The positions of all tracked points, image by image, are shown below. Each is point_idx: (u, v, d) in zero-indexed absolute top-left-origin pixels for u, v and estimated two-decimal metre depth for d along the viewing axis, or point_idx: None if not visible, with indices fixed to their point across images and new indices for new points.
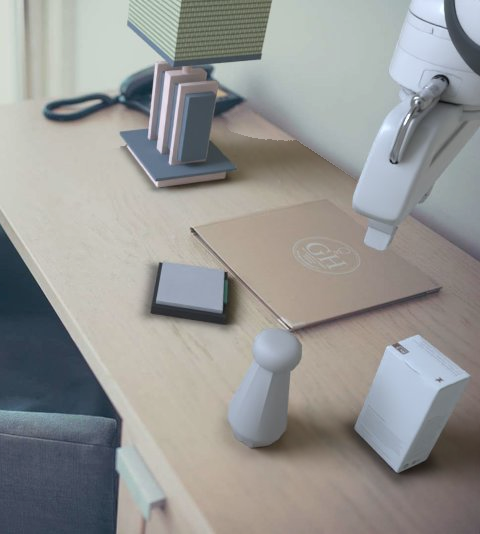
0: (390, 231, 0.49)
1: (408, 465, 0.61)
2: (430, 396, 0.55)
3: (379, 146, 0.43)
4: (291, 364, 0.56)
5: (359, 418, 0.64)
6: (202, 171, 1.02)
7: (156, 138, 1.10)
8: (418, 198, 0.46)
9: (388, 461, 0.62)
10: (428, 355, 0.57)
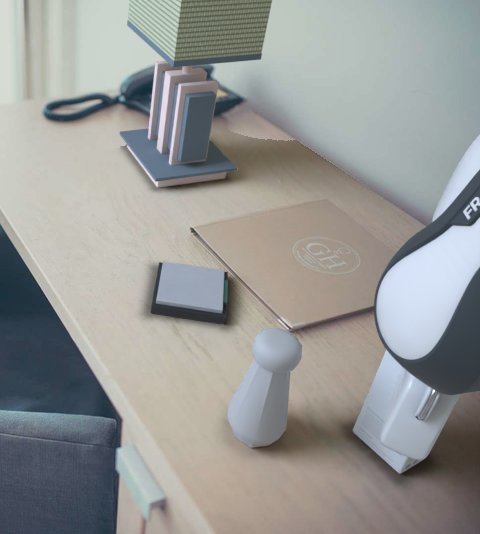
0: None
1: (410, 465, 0.61)
2: None
3: (406, 404, 0.49)
4: (291, 364, 0.56)
5: (358, 420, 0.64)
6: (202, 171, 1.02)
7: (156, 138, 1.10)
8: None
9: (389, 462, 0.62)
10: None
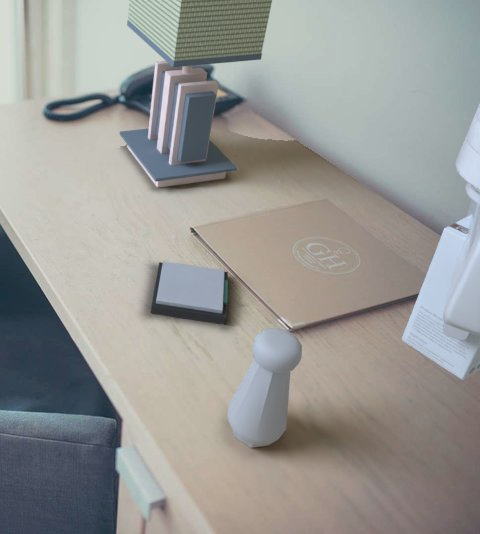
0: None
1: (474, 369, 0.53)
2: None
3: (479, 264, 0.41)
4: (291, 364, 0.56)
5: (408, 325, 0.55)
6: (202, 171, 1.02)
7: (156, 138, 1.10)
8: None
9: (450, 368, 0.53)
10: None
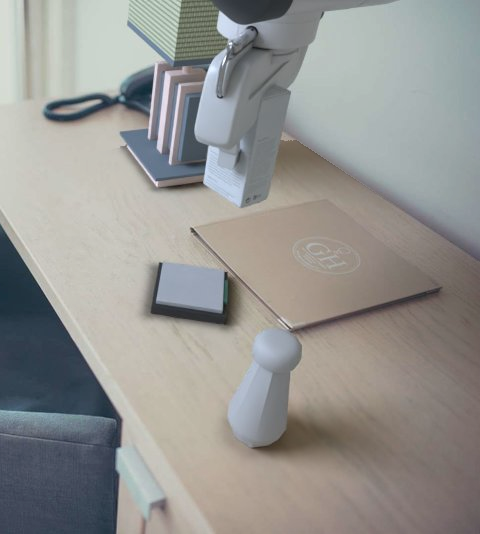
0: (234, 152, 0.61)
1: (249, 199, 0.66)
2: None
3: (208, 85, 0.54)
4: (291, 364, 0.56)
5: (206, 169, 0.68)
6: (202, 171, 1.02)
7: (156, 138, 1.10)
8: (245, 127, 0.57)
9: (232, 200, 0.66)
10: None
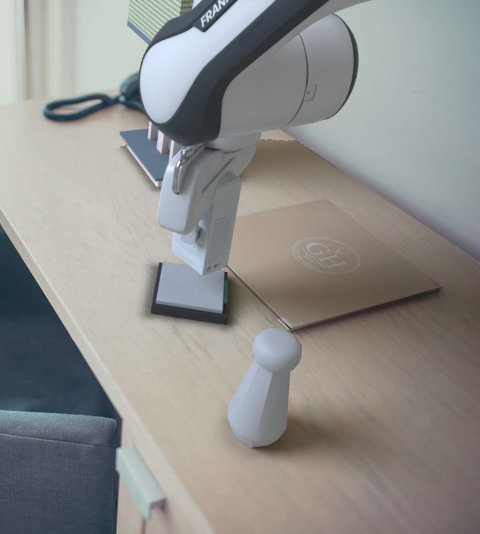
0: (194, 231, 0.70)
1: (210, 268, 0.75)
2: None
3: (166, 182, 0.63)
4: (291, 364, 0.56)
5: (173, 239, 0.77)
6: None
7: (156, 138, 1.10)
8: (201, 214, 0.66)
9: (195, 268, 0.75)
10: None
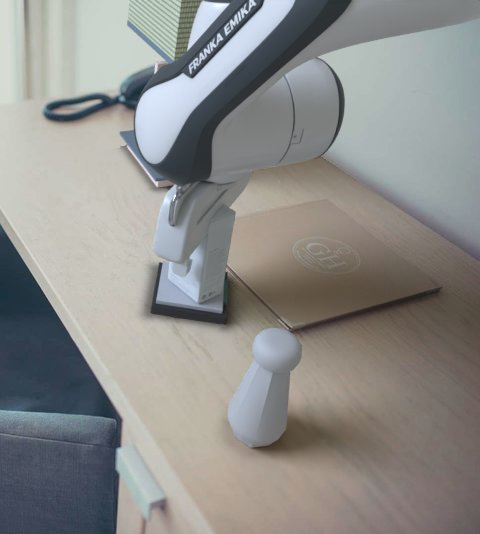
0: (185, 264, 0.72)
1: (205, 296, 0.77)
2: None
3: (162, 215, 0.65)
4: (291, 364, 0.56)
5: (169, 267, 0.80)
6: None
7: None
8: (196, 243, 0.69)
9: (191, 296, 0.78)
10: None
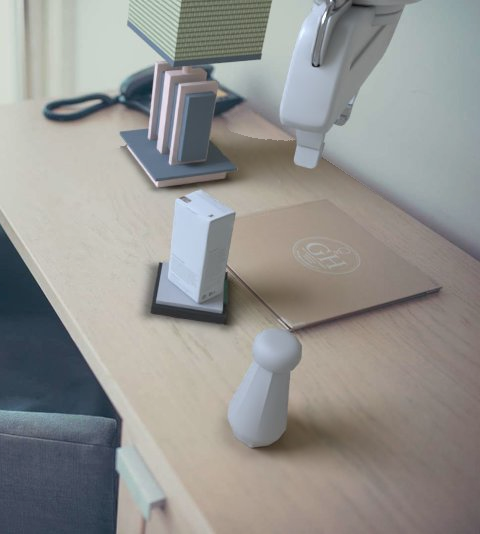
0: (318, 146, 0.49)
1: (205, 296, 0.77)
2: (205, 229, 0.71)
3: (300, 51, 0.43)
4: (291, 364, 0.56)
5: (169, 267, 0.80)
6: (202, 171, 1.02)
7: (156, 138, 1.10)
8: (342, 105, 0.46)
9: (191, 296, 0.78)
10: (205, 201, 0.73)
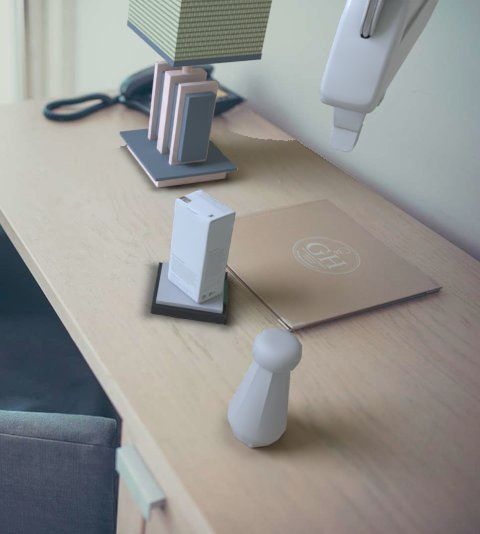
0: (357, 127, 0.45)
1: (205, 296, 0.77)
2: (205, 229, 0.71)
3: (348, 20, 0.38)
4: (291, 364, 0.56)
5: (169, 267, 0.80)
6: (202, 171, 1.02)
7: (156, 138, 1.10)
8: (388, 83, 0.42)
9: (191, 296, 0.78)
10: (205, 201, 0.73)
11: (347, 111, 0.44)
